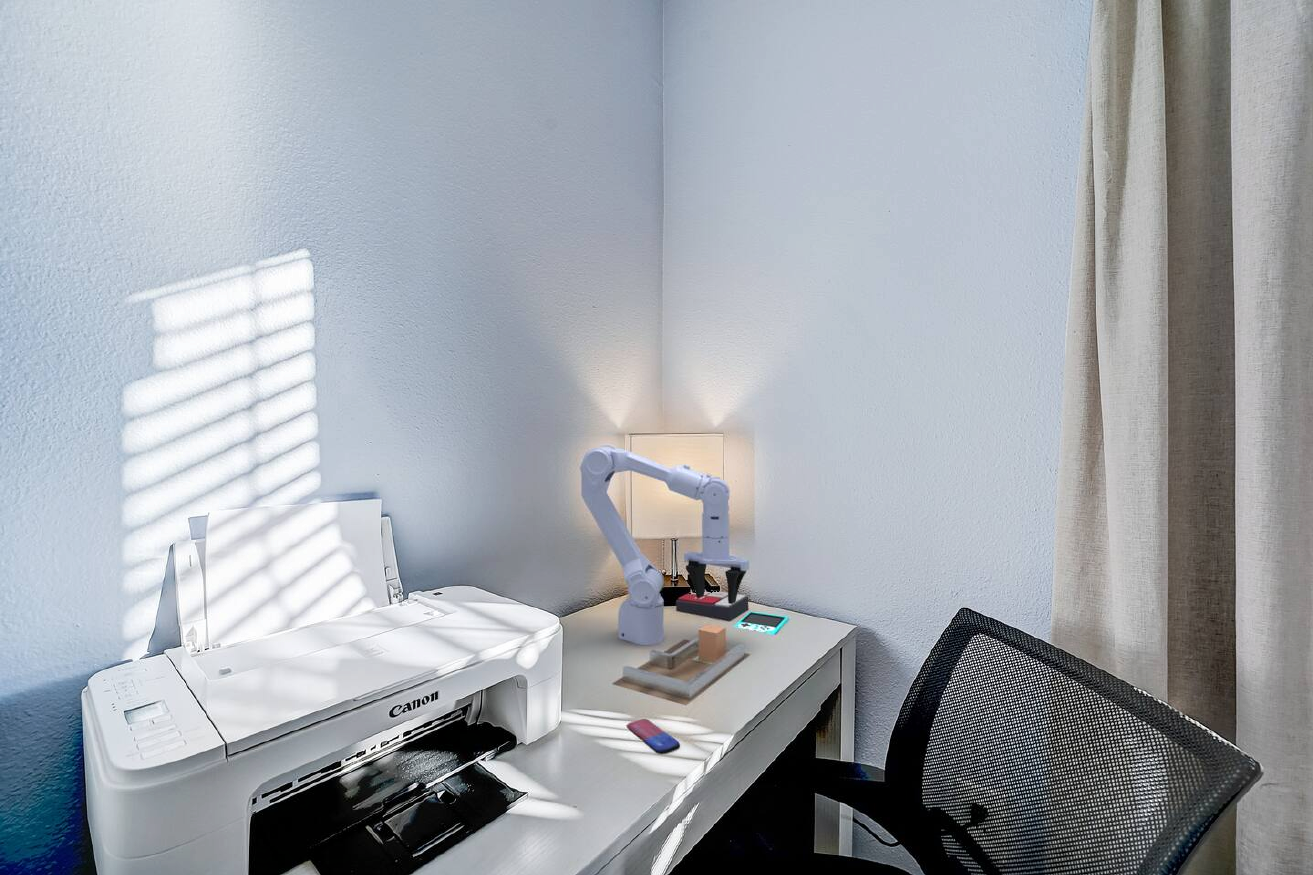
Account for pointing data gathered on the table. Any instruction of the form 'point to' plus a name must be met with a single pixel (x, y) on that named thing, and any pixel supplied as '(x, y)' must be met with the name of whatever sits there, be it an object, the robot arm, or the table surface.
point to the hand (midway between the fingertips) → (715, 599)
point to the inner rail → (674, 655)
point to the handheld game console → (762, 622)
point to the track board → (676, 674)
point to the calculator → (713, 605)
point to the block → (711, 642)
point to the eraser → (653, 736)
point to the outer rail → (679, 686)
